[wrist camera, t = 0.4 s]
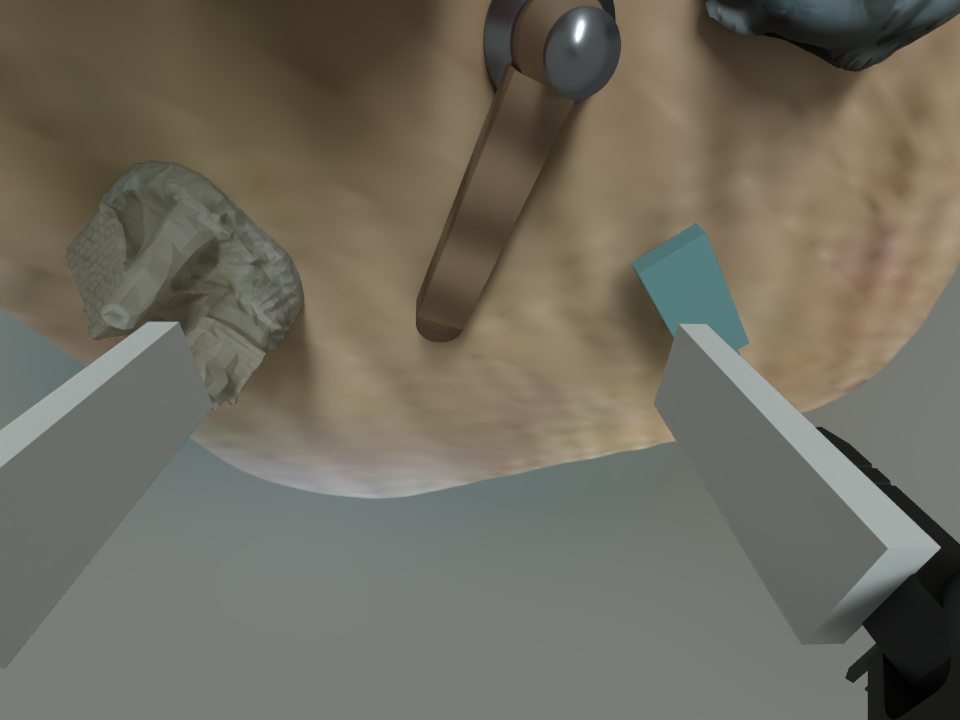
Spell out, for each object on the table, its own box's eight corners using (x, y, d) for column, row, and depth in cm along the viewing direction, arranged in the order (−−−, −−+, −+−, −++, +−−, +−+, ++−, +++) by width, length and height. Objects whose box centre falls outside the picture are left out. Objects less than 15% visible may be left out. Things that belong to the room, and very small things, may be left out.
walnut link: (534, -34, 23) (545, -36, 21) (608, 12, 25) (626, 15, 22) (405, 313, 37) (404, 333, 35) (457, 327, 39) (459, 348, 37)
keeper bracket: (609, 234, 35) (638, 274, 30) (665, 197, 34) (705, 232, 29) (666, 333, 43) (696, 377, 39) (713, 307, 42) (751, 349, 37)
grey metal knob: (519, -84, 22) (553, -109, 17) (637, -6, 25) (703, -3, 19) (463, 81, 27) (474, 107, 21) (568, 132, 30) (604, 169, 24)
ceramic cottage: (184, 133, 27) (19, 256, 17) (340, 310, 38) (299, 452, 28) (30, 227, 31) (-181, 375, 21) (212, 364, 42) (133, 506, 32)
